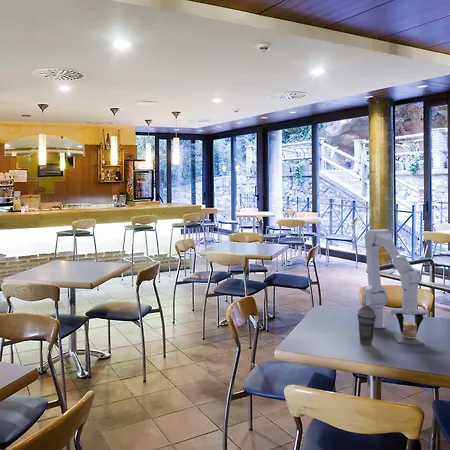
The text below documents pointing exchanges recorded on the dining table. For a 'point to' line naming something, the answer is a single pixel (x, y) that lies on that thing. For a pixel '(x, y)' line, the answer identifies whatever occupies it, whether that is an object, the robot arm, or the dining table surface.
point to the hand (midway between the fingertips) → (408, 331)
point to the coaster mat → (408, 339)
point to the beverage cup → (366, 324)
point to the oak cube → (409, 329)
